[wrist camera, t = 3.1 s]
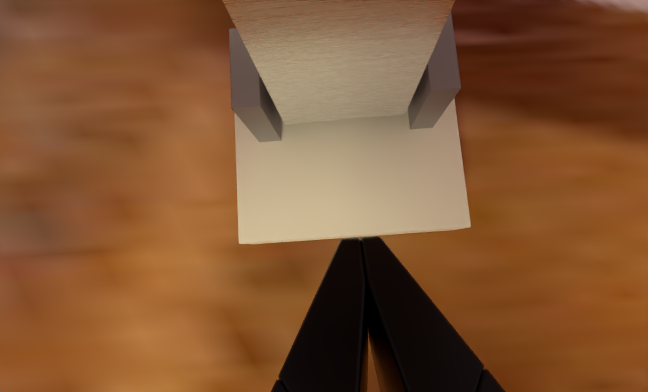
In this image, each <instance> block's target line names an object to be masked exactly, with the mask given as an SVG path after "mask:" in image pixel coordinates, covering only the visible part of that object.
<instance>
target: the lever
mask: <svg viewBox="0 0 648 392" xmlns="http://www.w3.org/2000/svg"><path fill="white" fill-rule="evenodd" d="M223 2H224V4H225V6H226V8H227V10H228V12H229V14H230V16H231V18H232V20H233V22H234V24H235V26H236V28H237V30H238V32H239V34H240V36H241V38H242V40H243V42H244V44H245V46H246V48H247V50H248V52H249V54H250V56H251V58H252V60H253V62H254V64H255V66H256V68H257V70H258V72H259V74H260V76H261V78H262V80H263V82H264V84H265V86H266V88H267V90H268V92H269V94H270V96H271V98H272V100H273V102H274V104H275V106H276V108H277V110H278V112H279V114H280V116H281V118H282V120H283V122H284V124H285V125H288V124H299V123H311V122H322V121H334V120H345V119H357V118H368V117H380V116H391V115H402V114H405V113H406V111H407V109H408V107H409V104H410V102H411V100H412V97H413V95H414V93H415V91H416V88H417V86H418V84H419V82H420V79H421V77H422V75H423V72H424V70H425V68H426V66H427V63H428V61H429V59H430V57H431V54H432V52H433V50H434V47H435V45H436V43H437V41H438V38H439V36H440V34H441V31H442V29H443V27H444V25H445V22H446V20H447V18H448V16H449V13H450V11H451V9H452V6H453V4H454V2H455V0H223Z"/></svg>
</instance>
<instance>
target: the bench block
mask: <svg viewBox="0 0 648 392" xmlns="http://www.w3.org/2000/svg"><path fill="white" fill-rule="evenodd" d="M229 42H230V73H231V105H232V110H233V111H234V112H235V140H236V170H237V201H238V231H239V244H262V243H277V242H291V241H305V240H319V239H334V238H348V237H362V236H376V235H390V234H405V233H419V232H433V231H447V230H457V229H463V228H469V227H471V224H470V216H469V209H468V201H467V193H466V185H465V177H464V170H463V162H462V154H461V146H460V138H459V131H458V123H457V115H456V107H455V99H454V97H455V96H456V95H457V93H458V92H459V90H460V89H461V82H460V75H459V67H458V60H457V52H456V44H455V37H454V29H453V22H452V14H451V11H450V13H449V16H448V18H447V20H446V22H445V25H444V27H443V29H442V31H441V34H440V36H439V38H438V41H437V43H436V45H435V47H434V50H433V52H432V54H431V57H430V59H429V61H428V63H427V66H426V68H425V70H424V72H423V75H422V77H421V79H420V82H419V84H418V86H417V88H416V91H415V93H414V95H413V97H412V100H411V102H410V104H409V107H408V109H407V111H406V113H405V114H402V115H391V116H380V117H368V118H357V119H345V120H334V121H322V122H311V123H299V124H288V125H285V124H284V122H283V120H282V118H281V116H280V114H279V112H278V110H277V108H276V106H275V104H274V102H273V100H272V98H271V96H270V94H269V92H268V90H267V88H266V86H265V84H264V82H263V80H262V78H261V76H260V74H259V72H258V70H257V68H256V66H255V64H254V62H253V60H252V58H251V56H250V54H249V52H248V50H247V48H246V46H245V44H244V42H243V40H242V38H241V36H240V34H239V32H238V30H237V28H232V29H229Z"/></svg>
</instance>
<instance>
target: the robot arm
mask: <svg viewBox="0 0 648 392" xmlns="http://www.w3.org/2000/svg"><path fill="white" fill-rule="evenodd" d="M368 334H369V341H370V346H371V351H372V356H373V360H374V365H375V369H376V373H377V378H378V382H379V387H380V391H381V392H505V391H504V389H503V388H502V387H501V386H500V384H499V383H498V382H497V381H496V379H495V378H494V377H493V376H492V374H491V373H490V372H489V371H488V370H487V369H484V365H483V364H482V362H481V361H480V360H479V359H478V357H477V356H476V355H475V354H474V352H473V351H472V350H471V349H470V348H469V346H468V345H467V344H466V343H465V341H464V340H463V339H462V338H461V336H460V335H459V334H458V333H457V331H456V330H455V329H454V328H453V326H452V325H451V324H450V323H449V322H448V320H447V319H446V318H445V317H444V315H443V314H442V313H441V312H440V310H439V309H438V308H437V307H436V305H435V304H434V303H433V302H432V300H431V299H430V298H429V297H428V295H427V294H426V293H425V292H424V291H423V289H422V288H421V287H420V286H419V284H418V283H417V282H416V281H415V279H414V278H413V277H412V276H411V274H410V273H409V272H408V271H407V269H406V268H405V267H404V266H403V265H402V263H401V262H400V261H399V260H398V258H397V257H396V256H395V255H394V253H393V252H392V251H391V250H390V248H389V247H388V246H387V245H386V243H385V242H384V241H383V240H382V239H381V238H380V237H378V236H374V237H363V238H362V239H361V241H360V239H359V238H345V239H342V240H341V241H340V242H339V245H338V247H337V249H336V251H335V253H334V256H333V258H332V260H331V262H330V264H329V267H328V269H327V271H326V273H325V275H324V277H323V280H322V282H321V284H320V286H319V288H318V291H317V293H316V295H315V297H314V299H313V301H312V304H311V306H310V308H309V310H308V312H307V315H306V317H305V319H304V321H303V323H302V326H301V328H300V330H299V332H298V334H297V336H296V339H295V341H294V343H293V345H292V347H291V350H290V352H289V354H288V356H287V358H286V360H285V363H284V365H283V367H282V369H281V371H280V374H279V380H276V382H275V384H274V386H273V388H272V391H271V392H367V379H368ZM483 369H484V370H483Z"/></svg>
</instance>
